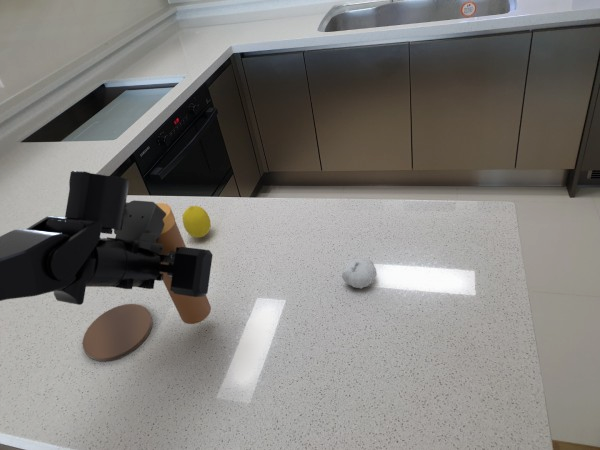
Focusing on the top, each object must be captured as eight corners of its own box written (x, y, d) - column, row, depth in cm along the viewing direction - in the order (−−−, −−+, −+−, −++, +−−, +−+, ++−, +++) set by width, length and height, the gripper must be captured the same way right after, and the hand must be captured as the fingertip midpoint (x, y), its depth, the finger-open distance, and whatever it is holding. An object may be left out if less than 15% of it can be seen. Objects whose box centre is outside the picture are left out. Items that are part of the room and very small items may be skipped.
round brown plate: (99, 374, 74) (97, 371, 74) (75, 335, 82) (72, 332, 82) (164, 329, 80) (162, 326, 79) (135, 296, 87) (133, 293, 87)
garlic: (354, 299, 78) (351, 277, 74) (338, 280, 82) (334, 258, 79) (384, 284, 79) (382, 262, 76) (367, 266, 83) (364, 245, 80)
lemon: (212, 243, 97) (201, 212, 92) (187, 246, 97) (174, 216, 92) (216, 227, 101) (206, 197, 96) (192, 230, 102) (180, 200, 97)
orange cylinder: (203, 326, 72) (159, 225, 60) (174, 323, 74) (126, 225, 62) (216, 301, 76) (177, 202, 64) (188, 299, 78) (145, 202, 66)
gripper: (181, 203, 54) (243, 220, 68) (62, 194, 60) (142, 212, 75) (167, 298, 53) (234, 296, 67) (48, 279, 59) (132, 280, 74)
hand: (183, 268), depth 71 cm, fingers closed on orange cylinder, 5 cm apart
